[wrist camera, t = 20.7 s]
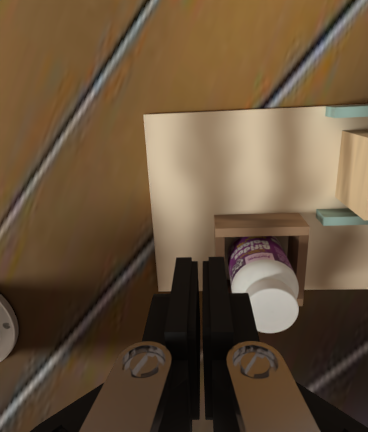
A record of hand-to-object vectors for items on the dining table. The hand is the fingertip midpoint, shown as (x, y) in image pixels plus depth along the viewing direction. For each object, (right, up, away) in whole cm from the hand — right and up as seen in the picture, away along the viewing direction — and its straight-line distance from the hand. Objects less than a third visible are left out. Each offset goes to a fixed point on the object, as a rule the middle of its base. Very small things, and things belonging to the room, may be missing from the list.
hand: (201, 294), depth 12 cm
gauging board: (+8, +4, +21) cm, 23 cm away
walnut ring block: (+6, -1, +22) cm, 23 cm away
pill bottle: (+6, -1, +22) cm, 23 cm away
